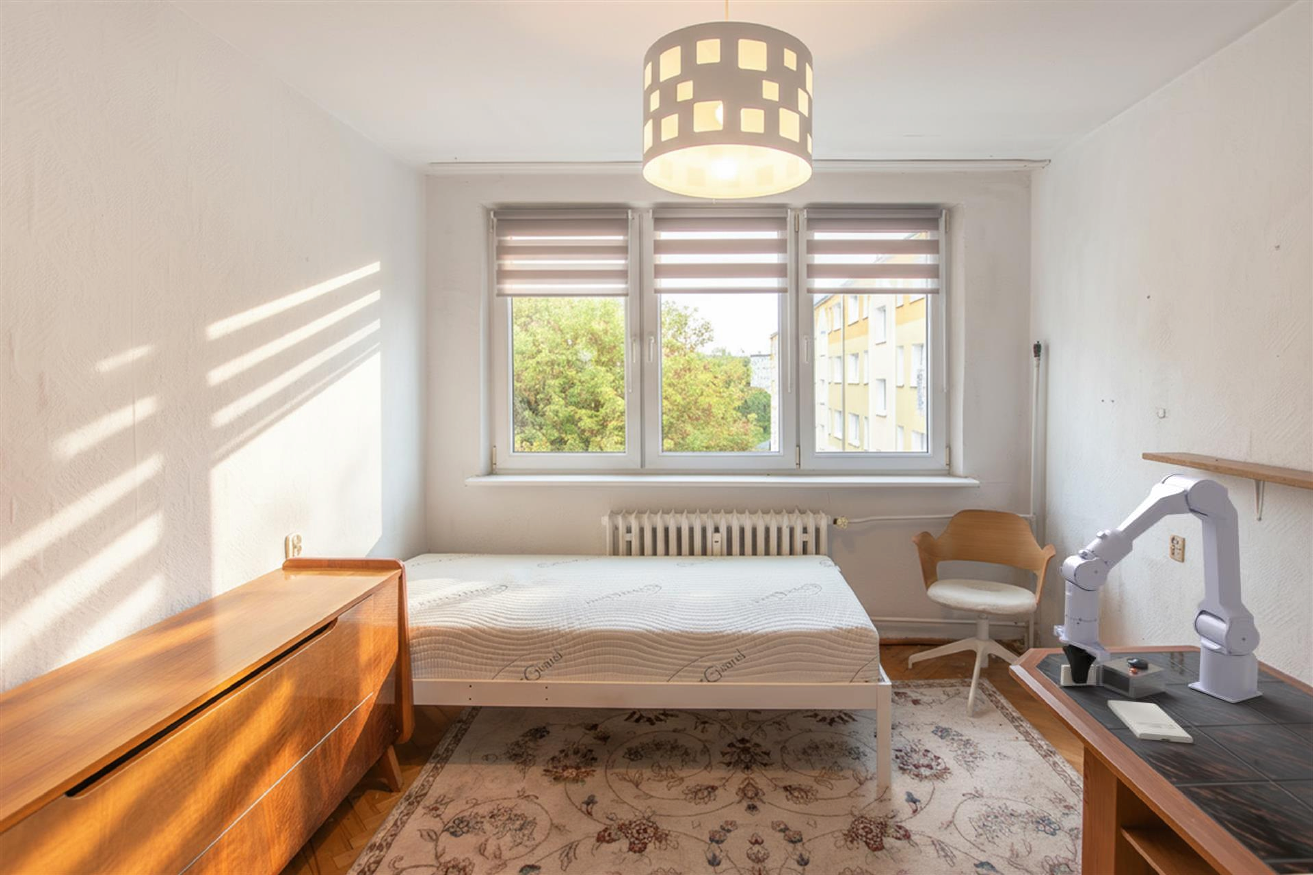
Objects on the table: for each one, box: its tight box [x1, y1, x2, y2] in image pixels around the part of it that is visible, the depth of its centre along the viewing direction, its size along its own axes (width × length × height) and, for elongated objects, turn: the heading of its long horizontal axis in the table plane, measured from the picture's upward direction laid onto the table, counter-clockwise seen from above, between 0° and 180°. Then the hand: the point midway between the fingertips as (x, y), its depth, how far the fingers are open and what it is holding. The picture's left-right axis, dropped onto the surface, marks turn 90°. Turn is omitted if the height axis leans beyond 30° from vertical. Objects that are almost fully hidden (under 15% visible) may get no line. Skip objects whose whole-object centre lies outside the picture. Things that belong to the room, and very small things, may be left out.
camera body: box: [1099, 656, 1167, 700], centre depth 136 cm, size 9×7×6 cm
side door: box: [1060, 664, 1101, 687], centre depth 138 cm, size 1×8×4 cm, turn 93°
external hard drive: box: [1107, 699, 1194, 744], centre depth 122 cm, size 2×8×12 cm
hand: (1079, 682), depth 137 cm, fingers closed
